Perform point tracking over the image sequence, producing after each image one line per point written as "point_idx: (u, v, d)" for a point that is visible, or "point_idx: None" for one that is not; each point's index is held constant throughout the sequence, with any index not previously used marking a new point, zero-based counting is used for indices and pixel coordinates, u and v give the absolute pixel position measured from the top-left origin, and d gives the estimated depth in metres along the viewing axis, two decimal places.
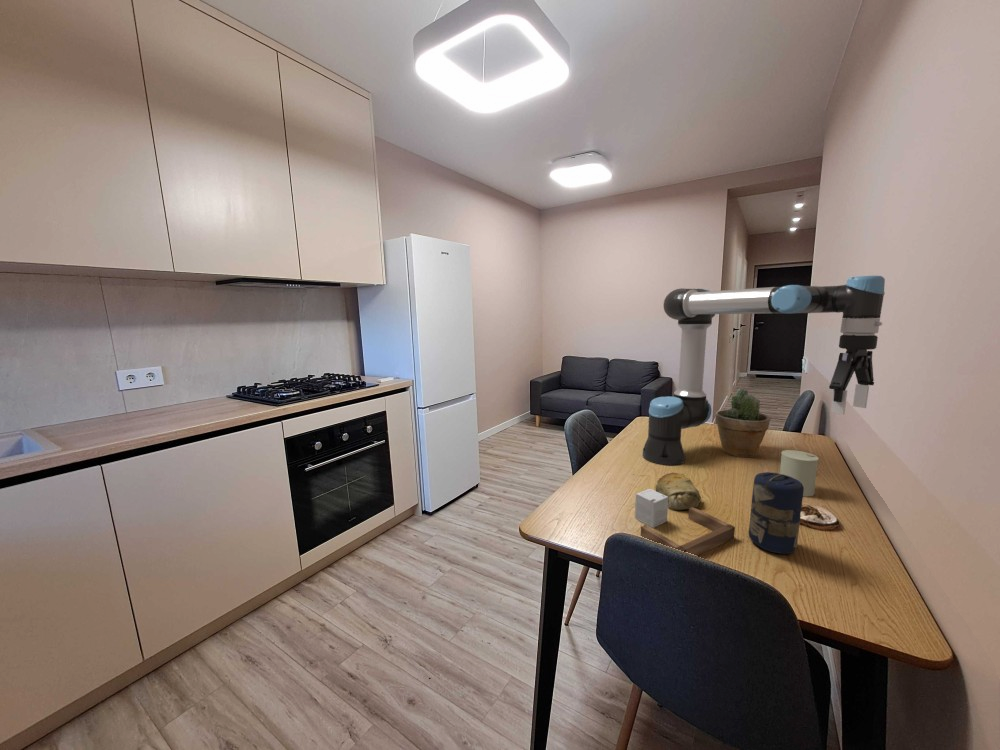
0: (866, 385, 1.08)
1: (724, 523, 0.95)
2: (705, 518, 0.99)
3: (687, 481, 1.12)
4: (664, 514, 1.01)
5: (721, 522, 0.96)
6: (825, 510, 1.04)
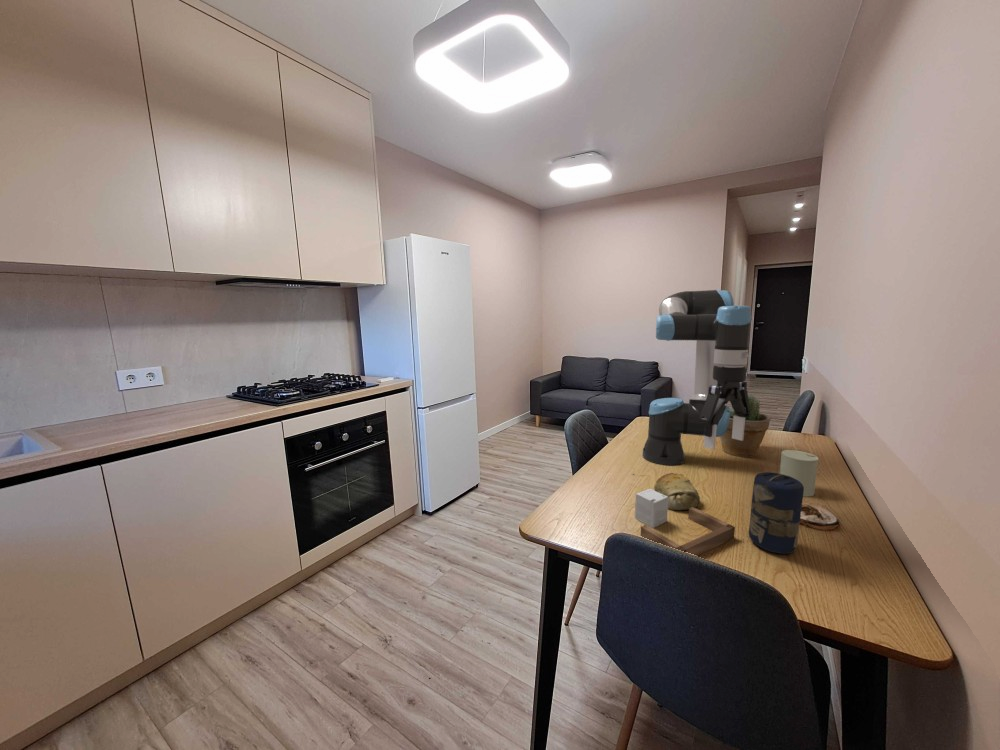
0: (742, 417, 1.04)
1: (724, 523, 0.95)
2: (705, 518, 0.99)
3: (686, 481, 1.12)
4: (664, 514, 1.01)
5: (721, 522, 0.96)
6: (825, 510, 1.04)
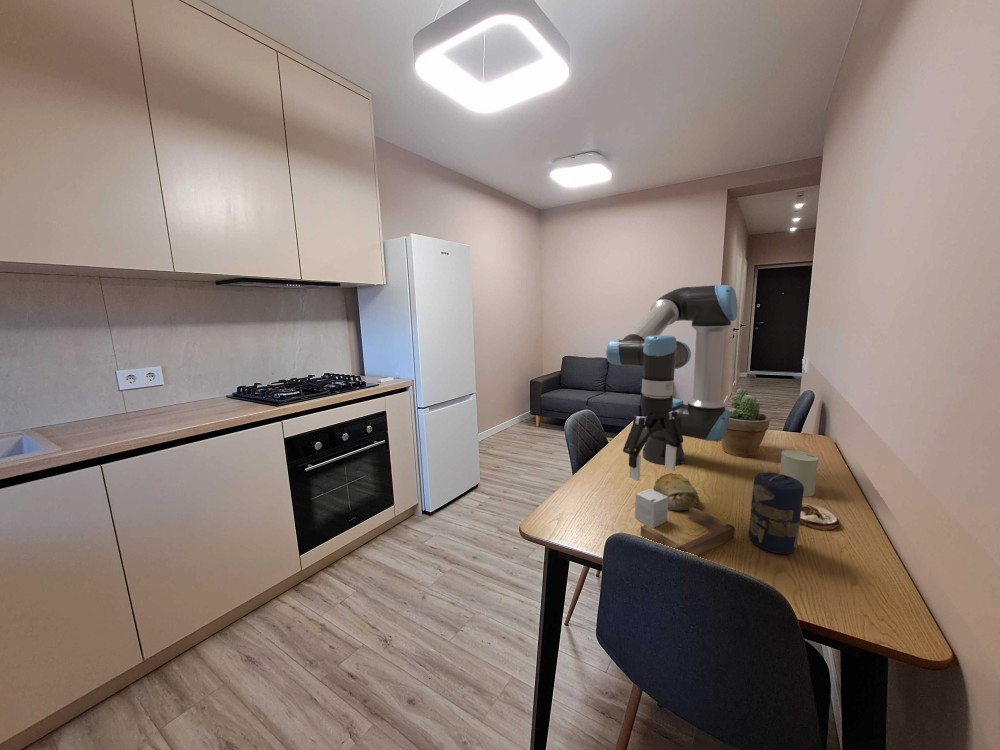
0: (674, 446, 1.02)
1: (724, 523, 0.95)
2: (705, 518, 0.99)
3: (685, 482, 1.12)
4: (664, 514, 1.01)
5: (721, 522, 0.96)
6: (825, 510, 1.04)
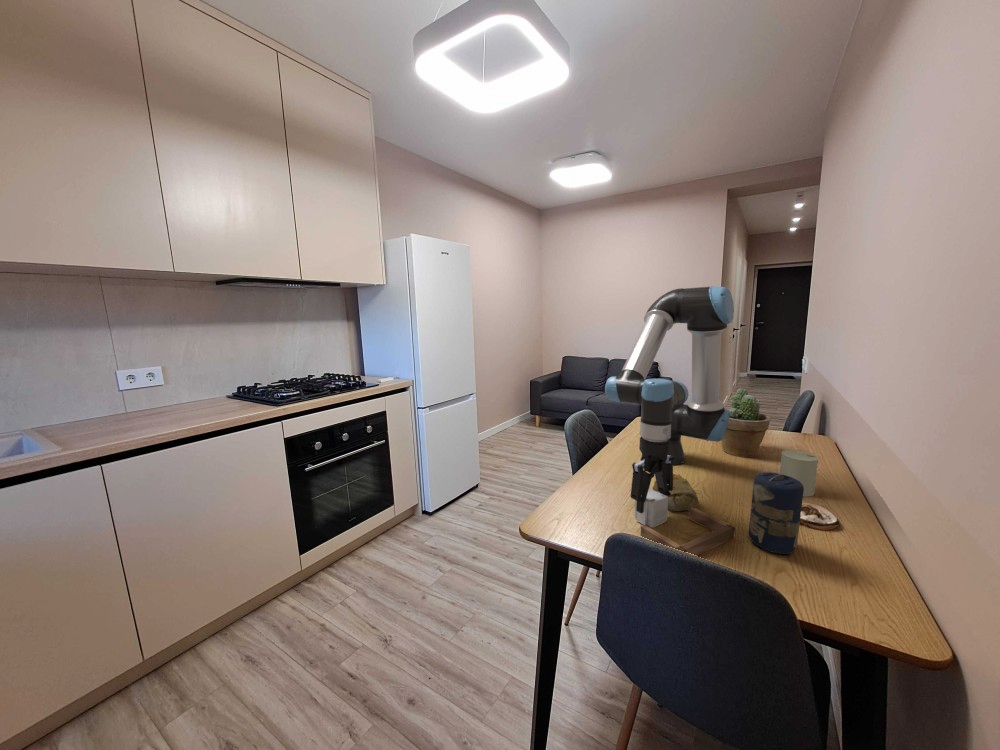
0: None
1: (724, 523, 0.95)
2: (705, 518, 0.99)
3: (684, 482, 1.11)
4: (664, 514, 1.01)
5: (721, 522, 0.96)
6: (825, 510, 1.04)
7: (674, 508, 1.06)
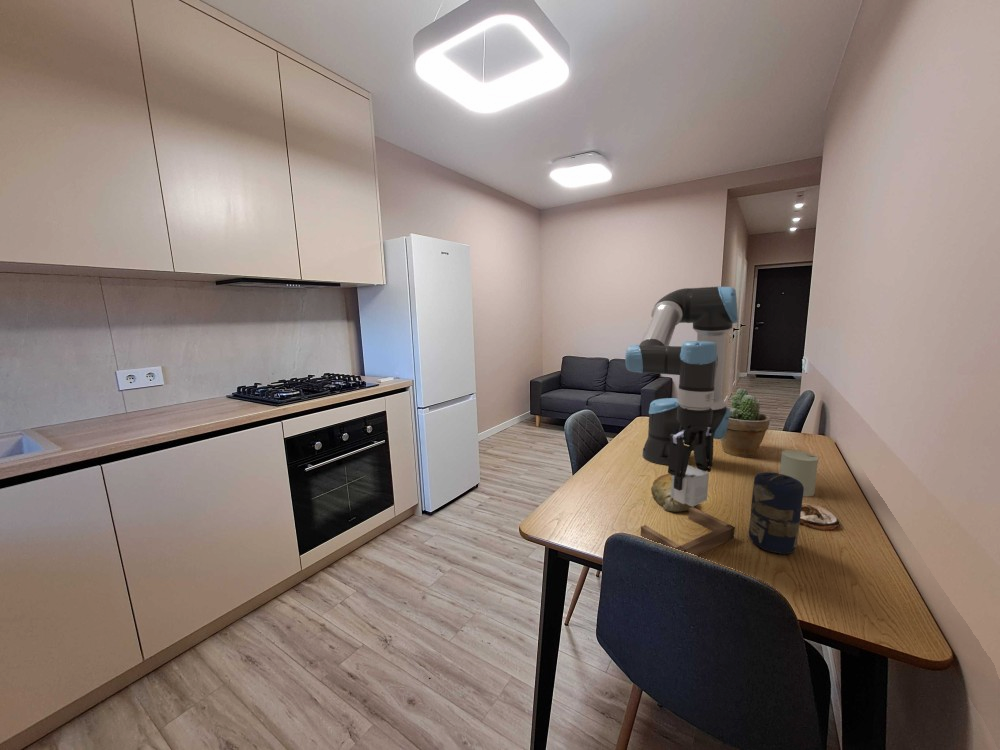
0: None
1: (724, 523, 0.95)
2: (705, 518, 0.99)
3: None
4: (704, 492, 0.91)
5: (721, 522, 0.96)
6: (825, 510, 1.04)
7: (673, 509, 1.06)
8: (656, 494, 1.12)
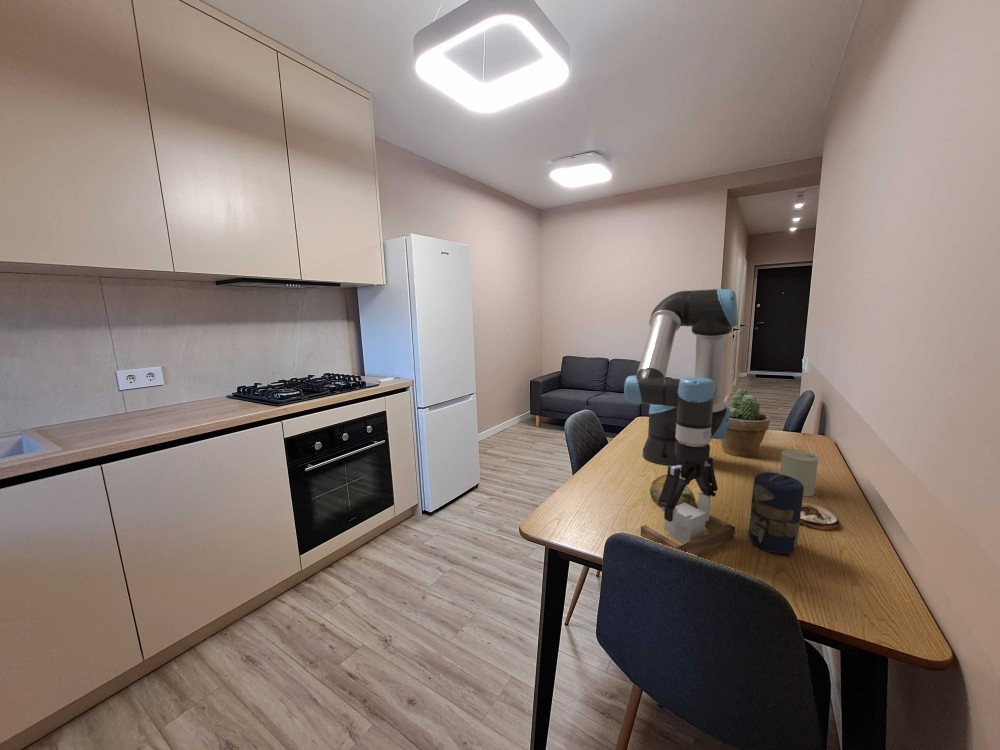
0: (707, 496, 0.95)
1: (724, 523, 0.95)
2: None
3: None
4: (701, 532, 0.92)
5: (721, 522, 0.96)
6: (825, 510, 1.04)
7: None
8: (655, 495, 1.11)
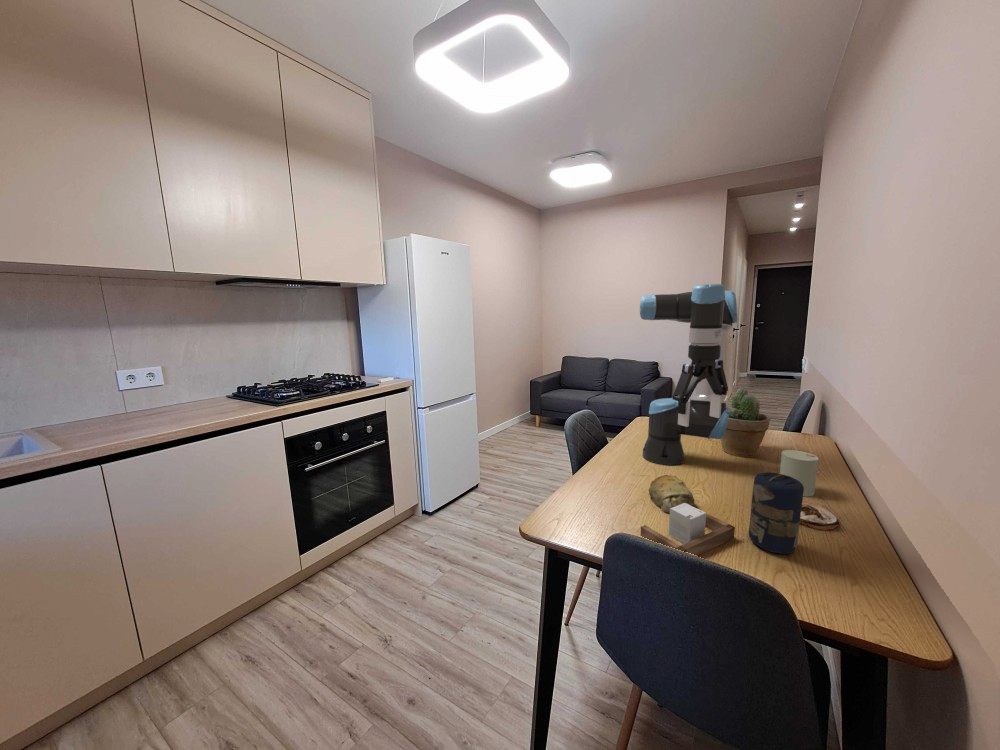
0: (719, 395, 1.05)
1: (724, 523, 0.95)
2: None
3: (680, 483, 1.11)
4: (701, 532, 0.92)
5: (721, 522, 0.96)
6: (825, 510, 1.04)
7: None
8: (654, 495, 1.11)
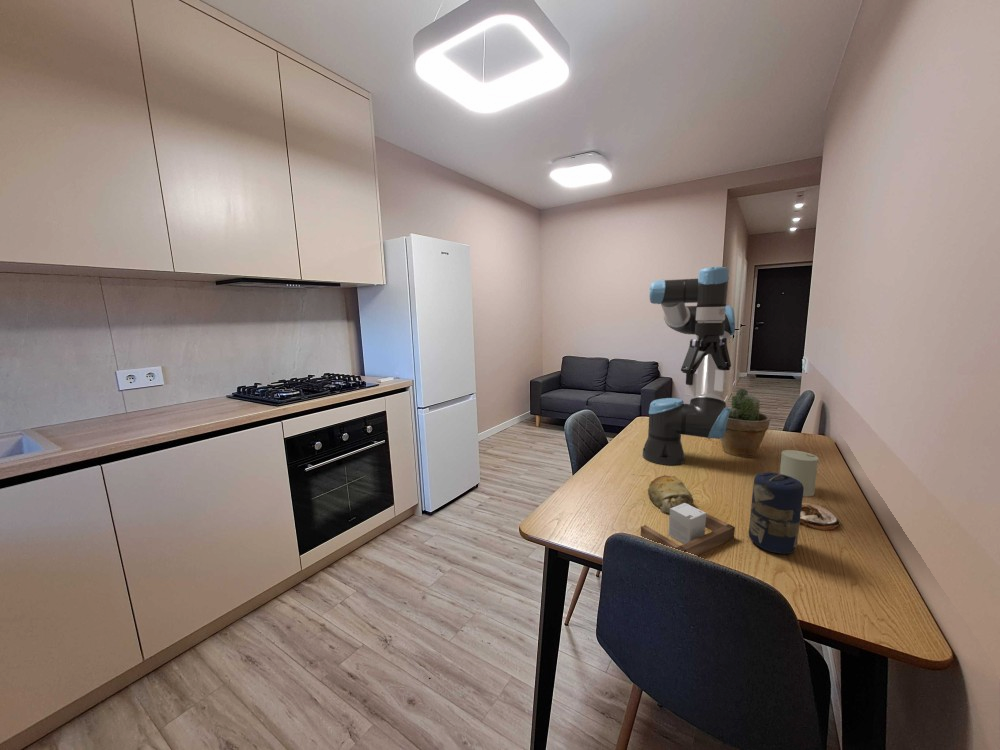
0: (723, 370, 1.15)
1: (724, 523, 0.95)
2: None
3: (680, 484, 1.10)
4: (701, 532, 0.92)
5: (721, 522, 0.96)
6: (825, 510, 1.04)
7: None
8: (653, 496, 1.11)
